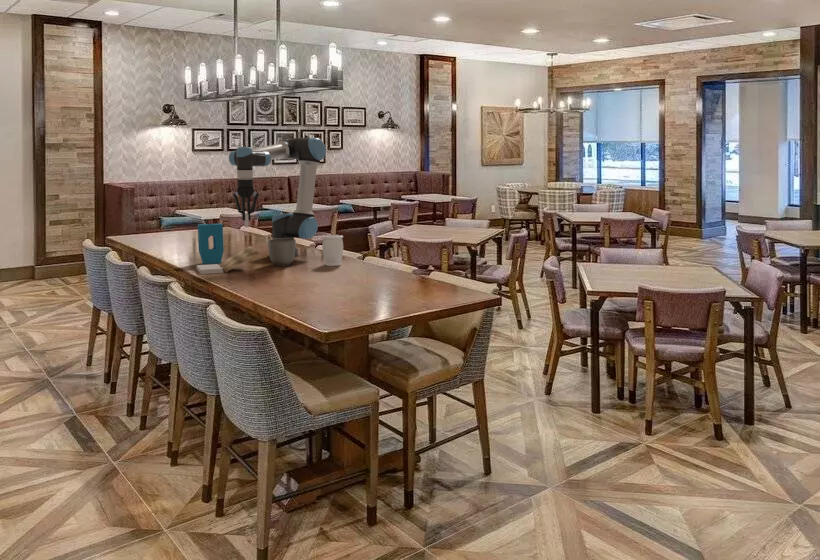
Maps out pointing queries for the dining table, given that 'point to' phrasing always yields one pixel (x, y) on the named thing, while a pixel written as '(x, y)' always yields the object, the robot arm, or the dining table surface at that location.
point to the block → (203, 234)
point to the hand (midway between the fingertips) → (246, 227)
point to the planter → (282, 251)
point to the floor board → (209, 269)
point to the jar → (332, 249)
